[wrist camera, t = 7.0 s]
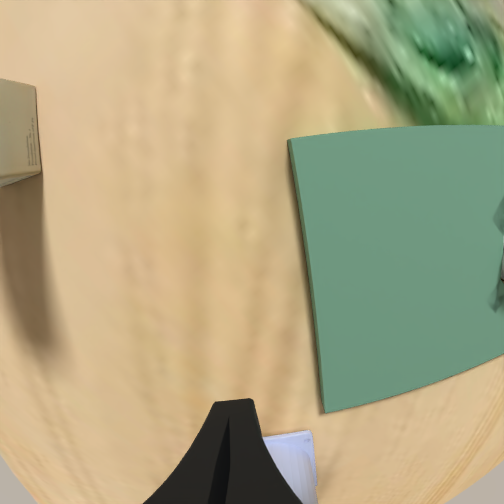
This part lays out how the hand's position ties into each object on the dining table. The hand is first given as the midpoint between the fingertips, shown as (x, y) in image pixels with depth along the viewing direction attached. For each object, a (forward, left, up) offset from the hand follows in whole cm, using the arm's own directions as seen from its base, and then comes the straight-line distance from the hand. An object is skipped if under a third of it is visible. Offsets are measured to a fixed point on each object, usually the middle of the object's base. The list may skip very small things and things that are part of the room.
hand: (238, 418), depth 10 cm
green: (0, -15, -9) cm, 18 cm away
